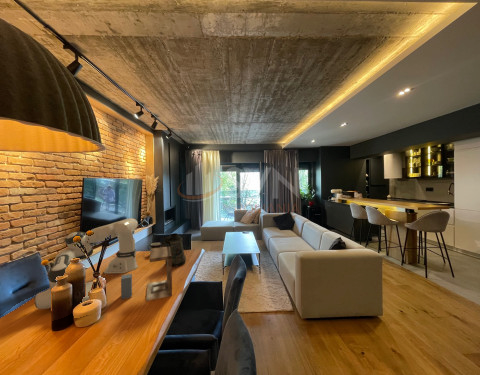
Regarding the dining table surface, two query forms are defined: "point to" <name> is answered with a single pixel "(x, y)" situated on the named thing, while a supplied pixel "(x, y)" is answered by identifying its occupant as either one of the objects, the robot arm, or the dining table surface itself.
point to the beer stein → (175, 249)
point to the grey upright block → (126, 286)
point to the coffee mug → (155, 245)
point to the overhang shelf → (164, 287)
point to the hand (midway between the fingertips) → (103, 289)
